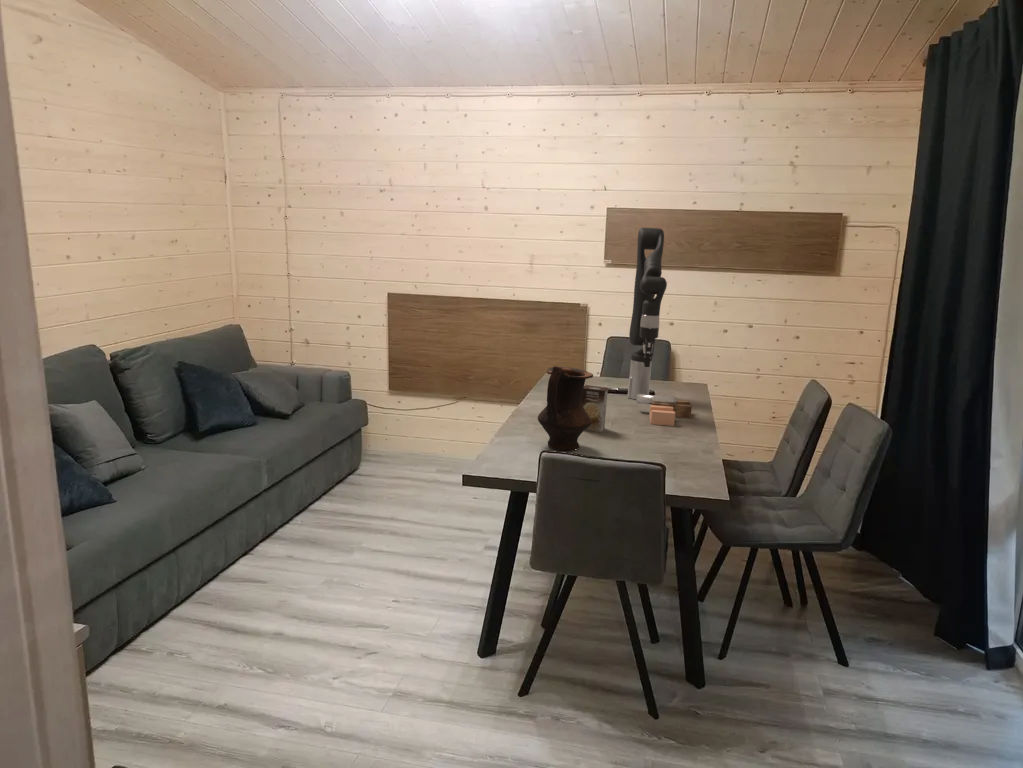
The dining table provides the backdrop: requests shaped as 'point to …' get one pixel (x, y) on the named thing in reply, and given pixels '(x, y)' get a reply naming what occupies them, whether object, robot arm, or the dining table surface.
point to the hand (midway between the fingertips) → (646, 364)
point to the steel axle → (655, 399)
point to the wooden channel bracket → (679, 408)
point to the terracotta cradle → (662, 415)
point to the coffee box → (595, 406)
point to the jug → (565, 408)
